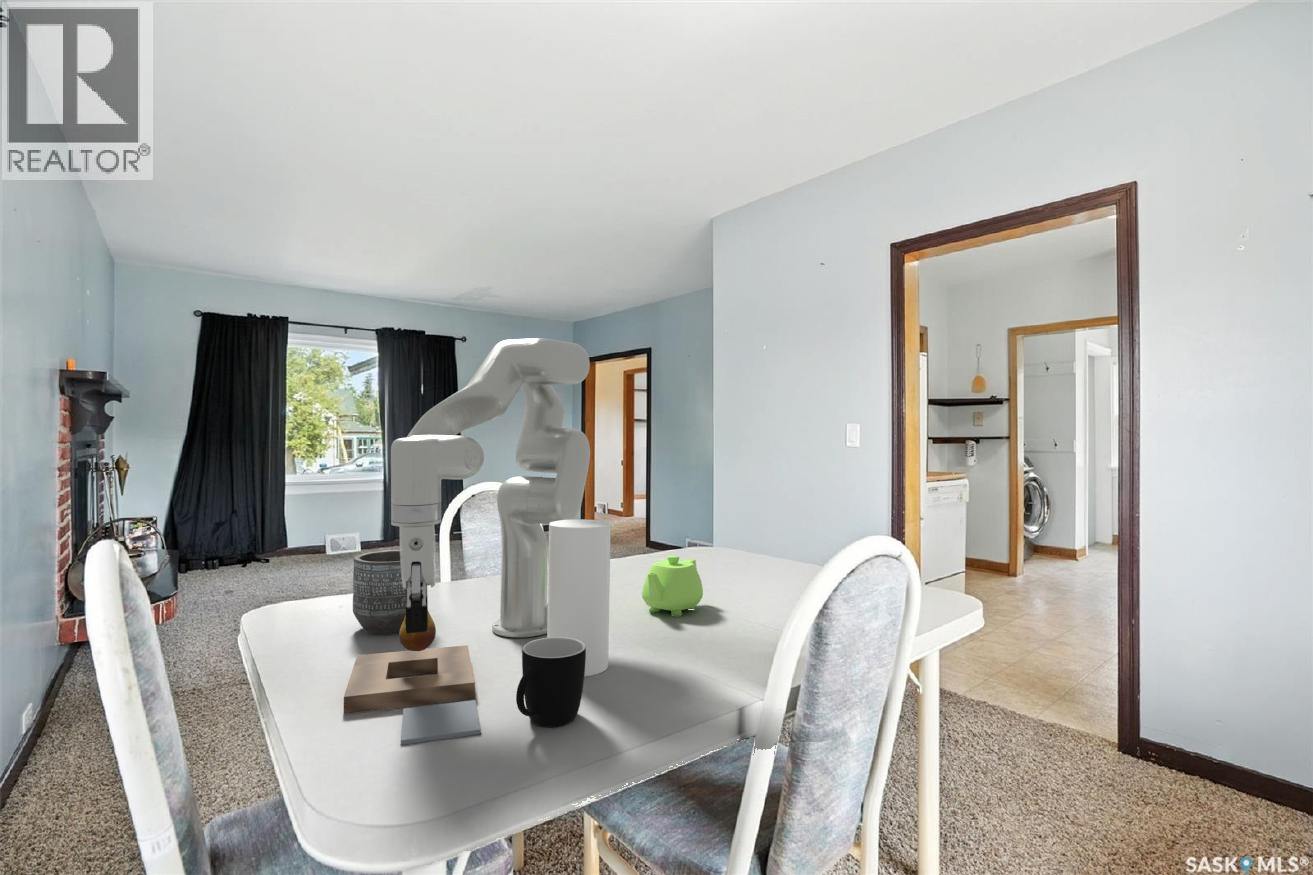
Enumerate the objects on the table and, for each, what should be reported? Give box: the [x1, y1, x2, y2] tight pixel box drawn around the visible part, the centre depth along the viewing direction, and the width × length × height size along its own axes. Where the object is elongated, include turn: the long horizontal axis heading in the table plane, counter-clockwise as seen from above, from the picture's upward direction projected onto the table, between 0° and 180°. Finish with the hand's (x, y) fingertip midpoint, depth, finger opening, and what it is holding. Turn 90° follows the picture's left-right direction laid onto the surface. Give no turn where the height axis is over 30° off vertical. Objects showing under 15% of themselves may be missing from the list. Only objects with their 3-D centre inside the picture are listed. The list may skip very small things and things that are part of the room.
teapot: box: [641, 555, 704, 617], centre depth 148 cm, size 20×13×13 cm
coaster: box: [400, 699, 482, 746], centre depth 88 cm, size 10×10×1 cm
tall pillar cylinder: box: [546, 518, 612, 678], centre depth 111 cm, size 11×11×25 cm
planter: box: [352, 549, 428, 636], centre depth 131 cm, size 14×14×15 cm
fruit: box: [398, 584, 437, 651], centre depth 103 cm, size 6×6×12 cm
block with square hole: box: [343, 644, 476, 715], centre depth 102 cm, size 18×18×2 cm
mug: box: [515, 637, 586, 728], centre depth 89 cm, size 12×9×10 cm
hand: (417, 624), depth 103 cm, fingers closed on fruit, 5 cm apart
